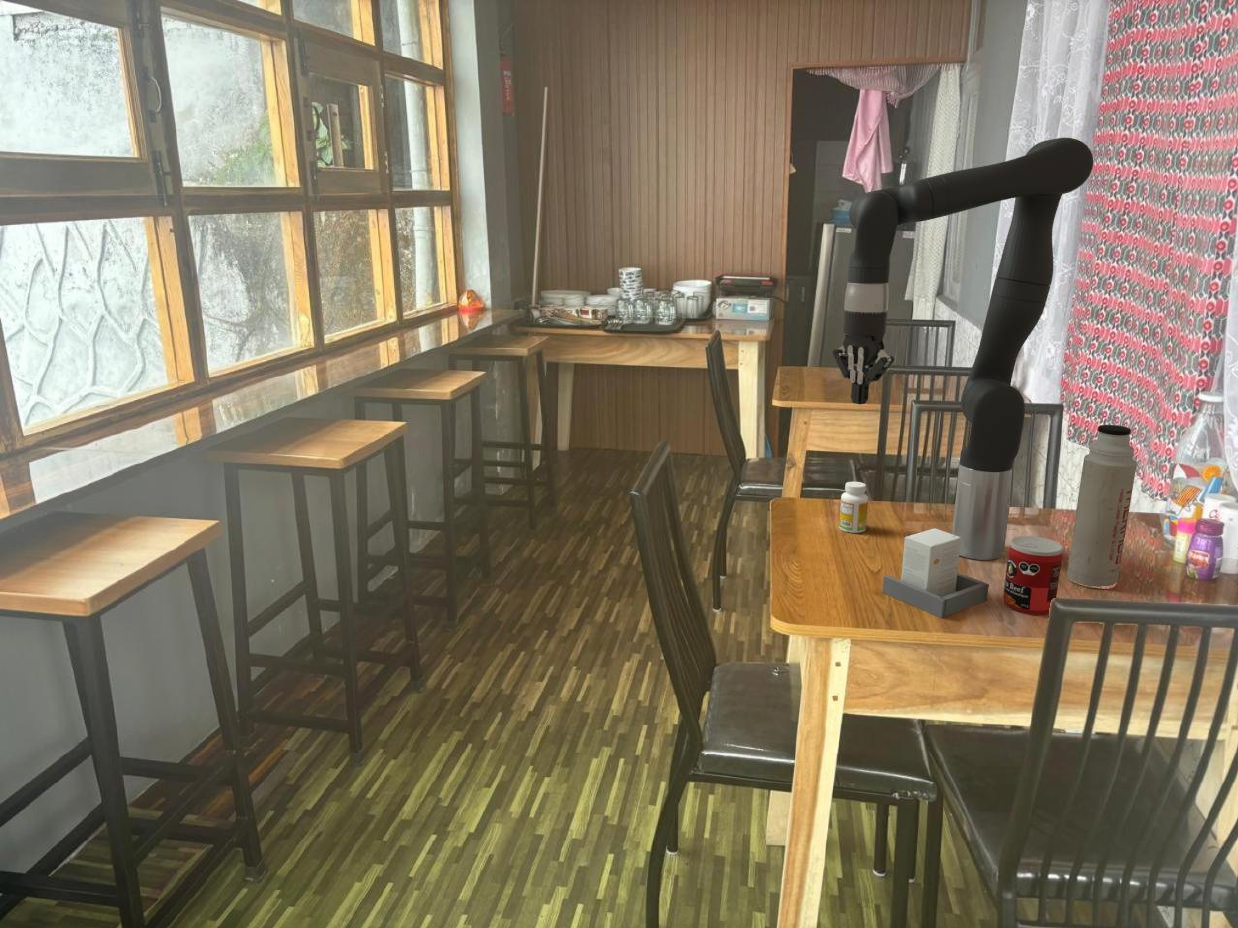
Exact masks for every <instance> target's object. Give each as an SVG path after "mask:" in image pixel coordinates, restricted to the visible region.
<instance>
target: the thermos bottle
mask: <svg viewBox="0 0 1238 928" xmlns="http://www.w3.org/2000/svg"><path fill="white" fill-rule="evenodd" d="M1097 431H1098V433H1097V437H1096V441H1093V442H1092V443H1091V444H1090V445H1089V447H1088V451H1089V453H1088V454H1086V455H1084V457H1083V463H1082V467H1081V468H1082V469H1081V470H1082V471H1081V477H1080V483H1079V488H1078V496H1077V503H1076V511H1075V515H1074V516H1075V518H1074V523H1073V524H1074V525H1073V534H1072V539H1071V545H1070V550H1069V551H1070V552H1069V556H1068V557H1069V558H1068V564H1067V565H1068V566H1067V571H1066V577H1067V576H1068V578H1069V579H1071V580H1072V581H1075V582H1077V583H1080V584H1083V585H1088V586H1097V587H1099V586H1100V587H1101V586H1110V585H1113V584H1115V583H1116V582H1117V581H1118V580H1119V575H1120V570H1121V569H1120V568H1121V562H1122V556H1123V549H1124V544H1125V538H1126V530H1127V526H1128V519H1129V514H1130V506H1131V501H1132V494H1133V489H1134V484H1135V483H1134V482H1135V477H1136V471H1137V464H1138V462H1137V461H1136V460H1135V459H1134V456H1135V449H1134V447H1133V446H1131V445H1130V442H1131V437H1130V435H1131V432H1132V429H1131V428H1129V427H1126V426H1122V425H1117V424H1101V425H1100V424H1099V426H1098V427H1097ZM1068 578H1067V579H1068ZM1117 583H1118V582H1117Z"/></svg>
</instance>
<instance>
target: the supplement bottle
mask: <svg viewBox="0 0 1238 928" xmlns="http://www.w3.org/2000/svg"><path fill="white" fill-rule="evenodd" d="M866 488H867V485H866V484H865V483H864V482H861V481H847V482H846V483H845V486H844V489H845V492H843V493H842V494H841V496H840V497H841V498H840V510H839V523H838V524H839V525H838V527H839V529H840V531H843V532H845V533H848V532H849V533H848V534H860V533H861V534H862V533H864V532H865V531H867V519H868V509H869V497H868V495H867V494H866Z"/></svg>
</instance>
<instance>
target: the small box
mask: <svg viewBox="0 0 1238 928" xmlns="http://www.w3.org/2000/svg"><path fill="white" fill-rule="evenodd" d="M903 543H904V544H903V554H902V567H901V577H900V580H901V581H904V582H906V583H908V584H911V585H913V586H916V587H918V588H921V589H923V590H925V591H928V592H930V593H933V594H935V595H938V596H940V597H944V596H946V595H949V594H952V593H955V592H956V591H955V590H956V582H957V572H958V571H959V564H960V563H959V562H960V555H959V554H960V545H961V537H958V536H955V535H953V534H952V533H950V532H947V531H944V530H941V529H938V528H935V527H934V528H931V529H928V530H924V531H921V532H919V533H914V534H911V535H907V536H905V537H904V542H903ZM958 573H959V572H958Z"/></svg>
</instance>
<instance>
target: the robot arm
mask: <svg viewBox="0 0 1238 928" xmlns="http://www.w3.org/2000/svg"><path fill="white" fill-rule="evenodd" d="M1093 167H1094V157H1093V153H1092V151H1091V149H1090V148H1089V146H1088V145H1087V144H1086V143H1084V142H1083V141H1081V140H1080V139H1076V138H1072V137H1059V138H1052V139H1046V140H1042V141H1040V142H1038V143H1036V144H1035V145H1033V146H1032V147H1031V148H1029V150H1028V151H1027V152H1026V154H1025V155H1022V156H1019V157H1016V158H1013V159H1010V160H1009V159H1008V160H1006V161H1002V162H998V163H993V164H989V165H983V166H975V167H972V168H967V169H966V168H965V169H960V170H955V171H950V172H945V173H942V174H941V173H940V174H937V175H933V176H930V177H926V178H922V179H919V180H915V181H912V182H909V183H907V184H903V185H898V186H893V187H887V188H883V189H882V188H881V189H878V190H873V191H872V190H871V191H868V192H865V193H862V194H860V195H858V196H857V197H856V198H855V199H854V200H853V201H852V203H851V205H850V207H849V211H848V218H849V222H850V225H852V227H853V228H854V229H855V230H856V231H855V238H854V239H855V240H854V248H853V250H852V252H851V253H850V255H849V260H848V272H847V286H846V290H845V295H844V306H843V307H844V310H843V311H844V312H843V321H842V323H843V325H842V333H843V334H844V335H845V336H844V339H843V341H842V345H841V346H840V347H838V348H835V349H833V350H832V356H833V358H834V359H835V362H836V364H837V366H838V368H839V370H840V371H841V374H842V376H843V378H844V379H849V381H850V382H851V394H850V399H851V402H852V403H853V404H856V405H865V404H866V403H867V402H868V400H869V390H870V384H871V383H875V382H878V381H879V380H880V379H881V378H882V377H883V376H884V374H885V373H886V372H887V371H888V369H889V368H890V367H891V366H892V364H893V363H894V362H895V357H894V356H892V355H888V354H887V352H886V351H885V343H884V337H885V334H886V333H887V325H888V324H887V323H888V322H887V321H888V311H889V308H888V307H889V297H890V296H889V294H890V293H889V292H890V291H889V279H890V269H891V268H890V267H891V266H890V265H891V263H890V262H891V260H890V259H891V253H892V249H893V247H894V243H895V237H896V233H897V229H898V226H900V225H904V224H907V223H919V222H926V221H931V220H935V219H938V218H942V217H946V216H950V215H953V214H958V213H962V212H965V211H969V210H972V209H974V208H975V209H976V208H978V207H979V208H980V207H981V206H982V207H983V206H986V205H988V204H993V203H997V202H998V203H999V202H1001V201H1006V200H1010V199H1011V200H1012V199H1014V198H1015V199H1014V206H1013V211H1012V216H1011V222H1010V224H1009V229H1008V231H1007V236H1006V239H1005V243H1004V246H1003V249H1002V250H1003V251H1002V254H1001V258H1000V261H999V265H998V267H997V268H998V269H997V271H996V275H995V279H994V283H993V287H992V290H991V294H990V298H989V303H988V308H987V312H986V316H985V319H984V324H983V327H982V332H981V336H980V340H979V346H978V349H977V353H976V356H975V358H974V361H973V364H972V366H971V369H970V372H969V375H968V377H967V380H966V382H965V385H964V387H963V389H962V390H963V391H962V393H961V398H960V408H961V412H962V414H963V416H964V418H966V420H968V421H969V422H970V423H971V424H970V430H969V431H970V432H969V438H968V439H969V440H968V443H967V445H966V446H965V447H963V448H962V449H961V451H960V454H959V455H960V456H959V464H958V465H959V467H958V474H957V482H956V483H957V484H956V492H955V494H956V495H955V502H954V509H953V510H954V512H953V520H952V521H953V522H952V530H951V534H953V535H955V536H958V537H961V545H960V554H959V557H963V558H966V559H970V560H971V559H972V560H978V561H990V560H991V561H992V560H995V559H999V558H1001V556H1002V554H1003V553H1004V552H1005V547H1006V538H1007V531H1008V524H1009V517H1010V516H1009V515H1010V507H1011V506H1010V503H1009V497H1010V490H1011V481H1012V473H1013V467H1014V466H1013V465H1014V461H1015V458H1017V455H1018V454H1019V450H1020V447H1021V446H1020V445H1021V440H1022V435H1023V429H1024V423H1025V413H1026V403H1025V399H1024V397H1023V395H1022V393H1021V392H1020V391H1019V390H1018V389H1017V388H1016V387H1014V386H1012V385H1011V384H1012V380H1013V379H1012V378H1013V374H1014V370H1015V368H1016V367H1015V366H1016V362H1017V360H1018V357H1019V355H1020V351H1021V349H1022V348H1023V346H1024V344H1025V343H1026V341H1027V340H1028V338H1029V336H1030V335H1031V334H1032V333H1033V331H1034V329H1035V327H1036V326H1037V325H1038V323H1039V321H1040V319H1041V317H1042V315H1043V313H1044V310H1045V307H1046V304H1047V301H1048V296H1049V292H1050V289H1051V285H1052V282H1053V277H1054V276H1053V275H1054V250H1053V249H1054V248H1053V229H1054V222H1055V219H1056V218H1055V217H1056V215H1057V211H1058V209H1059V204H1060V202H1061V199H1062V196H1063V195H1065V194H1069V193H1071V192H1073V191H1075V190H1077V189H1079V188H1080V187H1081V186H1082V185H1084V183H1085V182H1086V181H1087V180H1088V178H1090V176H1091V173H1092V171H1093Z"/></svg>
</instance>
